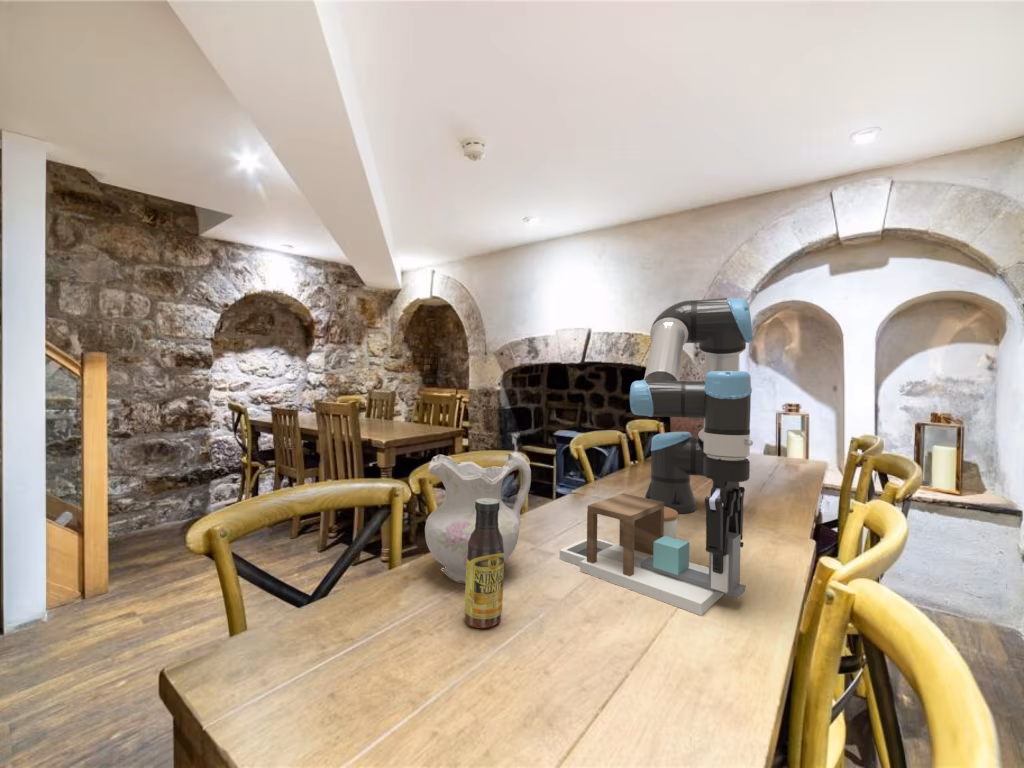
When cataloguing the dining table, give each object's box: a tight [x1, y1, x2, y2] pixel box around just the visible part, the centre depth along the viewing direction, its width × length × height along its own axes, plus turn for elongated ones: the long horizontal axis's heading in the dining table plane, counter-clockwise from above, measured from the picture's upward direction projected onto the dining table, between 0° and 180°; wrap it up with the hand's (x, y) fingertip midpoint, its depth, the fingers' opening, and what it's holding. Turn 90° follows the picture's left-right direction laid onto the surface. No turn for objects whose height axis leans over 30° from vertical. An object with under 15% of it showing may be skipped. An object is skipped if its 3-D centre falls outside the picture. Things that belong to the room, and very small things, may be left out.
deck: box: [559, 537, 725, 616], centre depth 94 cm, size 16×32×2 cm, turn 46°
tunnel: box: [586, 493, 664, 577], centre depth 96 cm, size 14×10×12 cm
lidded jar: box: [664, 506, 679, 538], centre depth 112 cm, size 11×11×9 cm
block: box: [653, 536, 690, 575], centre depth 89 cm, size 5×5×5 cm
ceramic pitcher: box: [424, 450, 532, 585], centre depth 94 cm, size 22×20×25 cm
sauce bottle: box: [464, 498, 505, 629], centre depth 75 cm, size 6×6×20 cm
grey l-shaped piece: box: [640, 531, 747, 599], centre depth 87 cm, size 4×18×10 cm, turn 46°
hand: (724, 585), depth 82 cm, fingers closed on grey l-shaped piece, 4 cm apart
